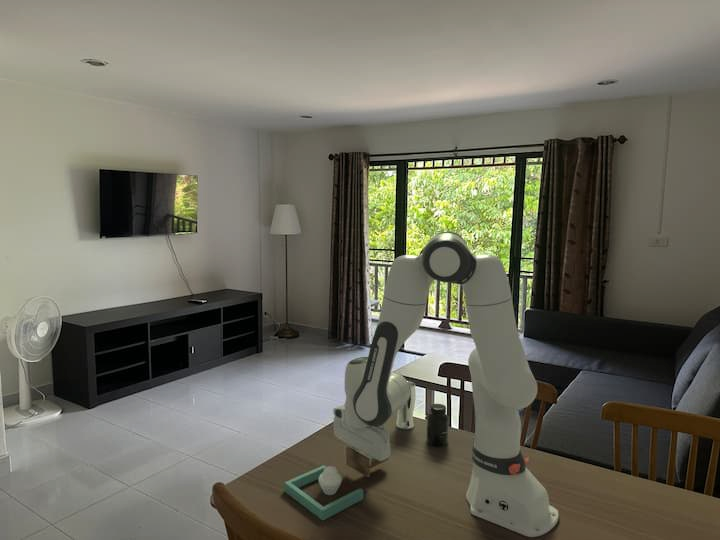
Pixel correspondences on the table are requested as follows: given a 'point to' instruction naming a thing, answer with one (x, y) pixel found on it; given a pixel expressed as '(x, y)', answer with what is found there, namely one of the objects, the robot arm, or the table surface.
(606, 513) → the table surface
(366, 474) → the wooden post on base
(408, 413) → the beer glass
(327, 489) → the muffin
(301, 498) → the frame
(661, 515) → the table surface
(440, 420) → the supplement bottle
